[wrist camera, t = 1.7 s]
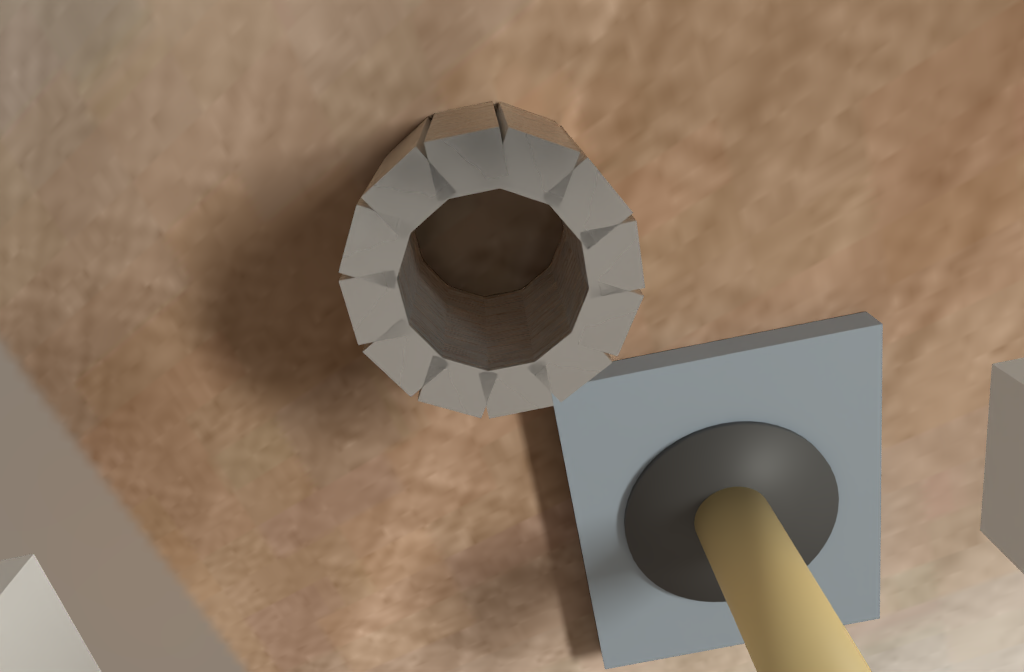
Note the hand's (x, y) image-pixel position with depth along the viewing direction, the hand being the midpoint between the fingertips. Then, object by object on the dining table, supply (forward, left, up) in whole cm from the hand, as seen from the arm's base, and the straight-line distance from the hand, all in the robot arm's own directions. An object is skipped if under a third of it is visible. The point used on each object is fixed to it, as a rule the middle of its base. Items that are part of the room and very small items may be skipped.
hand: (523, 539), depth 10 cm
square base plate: (+13, +7, -16) cm, 22 cm away
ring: (0, 0, -16) cm, 17 cm away
